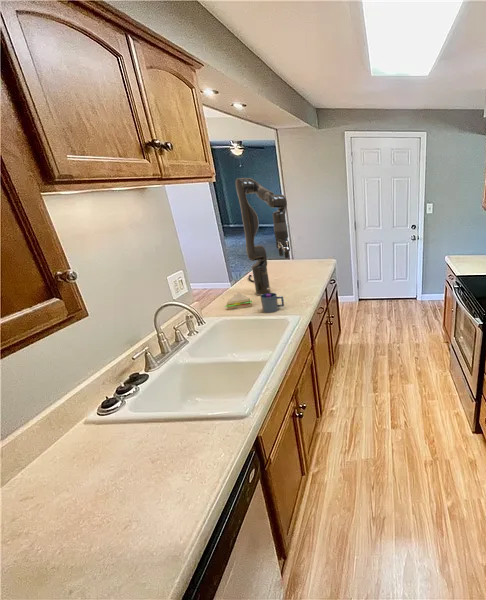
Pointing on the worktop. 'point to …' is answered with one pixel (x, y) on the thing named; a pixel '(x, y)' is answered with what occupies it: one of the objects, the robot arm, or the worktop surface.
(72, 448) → the worktop surface
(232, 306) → the sandwich
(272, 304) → the mug
